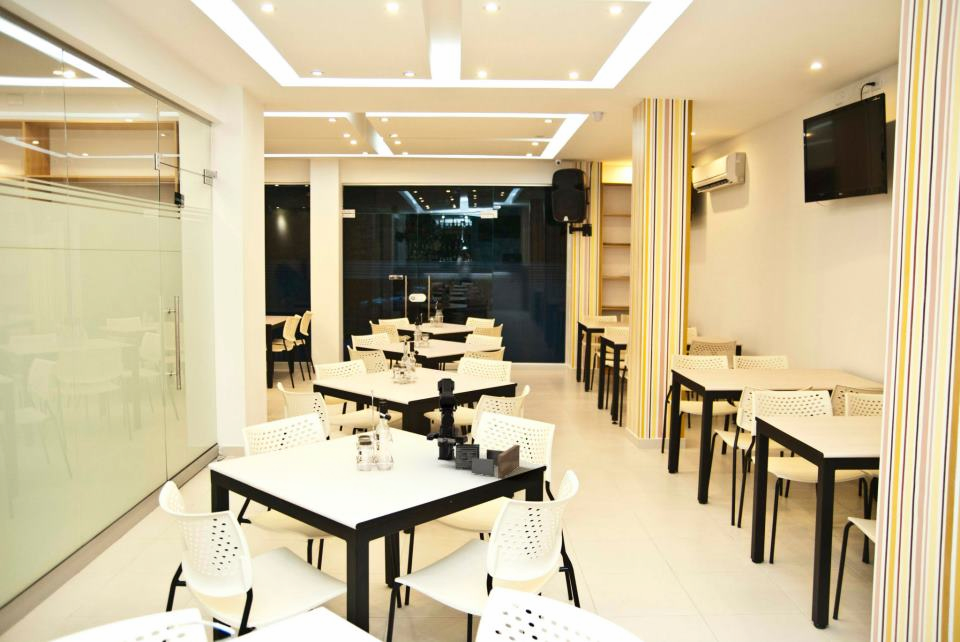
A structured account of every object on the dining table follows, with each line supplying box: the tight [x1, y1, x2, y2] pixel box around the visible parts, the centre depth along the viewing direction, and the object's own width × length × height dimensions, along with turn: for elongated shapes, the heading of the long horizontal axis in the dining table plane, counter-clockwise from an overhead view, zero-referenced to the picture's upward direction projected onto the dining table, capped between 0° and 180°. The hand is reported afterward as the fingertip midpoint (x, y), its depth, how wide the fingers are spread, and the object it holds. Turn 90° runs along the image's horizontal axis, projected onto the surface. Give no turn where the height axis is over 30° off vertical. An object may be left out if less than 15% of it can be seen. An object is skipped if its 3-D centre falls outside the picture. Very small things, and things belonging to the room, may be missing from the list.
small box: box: [455, 443, 481, 470], centre depth 316 cm, size 11×6×10 cm, turn 84°
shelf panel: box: [497, 444, 521, 480], centre depth 308 cm, size 2×22×10 cm, turn 158°
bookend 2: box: [485, 448, 505, 467], centre depth 320 cm, size 10×1×7 cm, turn 67°
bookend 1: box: [471, 457, 495, 477], centre depth 304 cm, size 10×1×7 cm, turn 67°
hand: (447, 456), depth 320 cm, fingers closed
